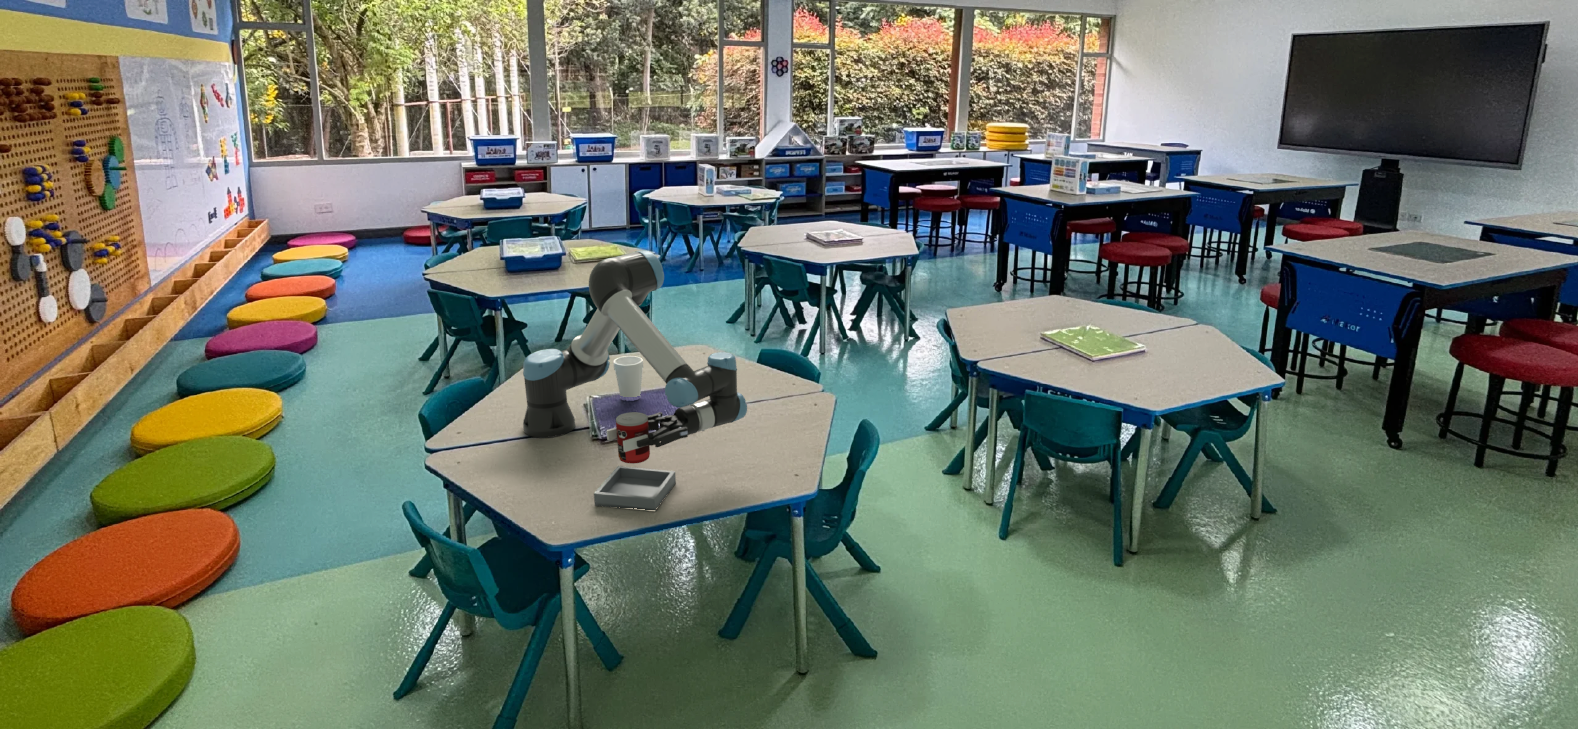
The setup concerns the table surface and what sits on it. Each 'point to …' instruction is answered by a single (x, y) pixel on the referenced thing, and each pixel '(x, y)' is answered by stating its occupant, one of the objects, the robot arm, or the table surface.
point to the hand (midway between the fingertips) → (615, 440)
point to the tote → (635, 488)
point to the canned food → (632, 436)
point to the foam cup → (629, 375)
